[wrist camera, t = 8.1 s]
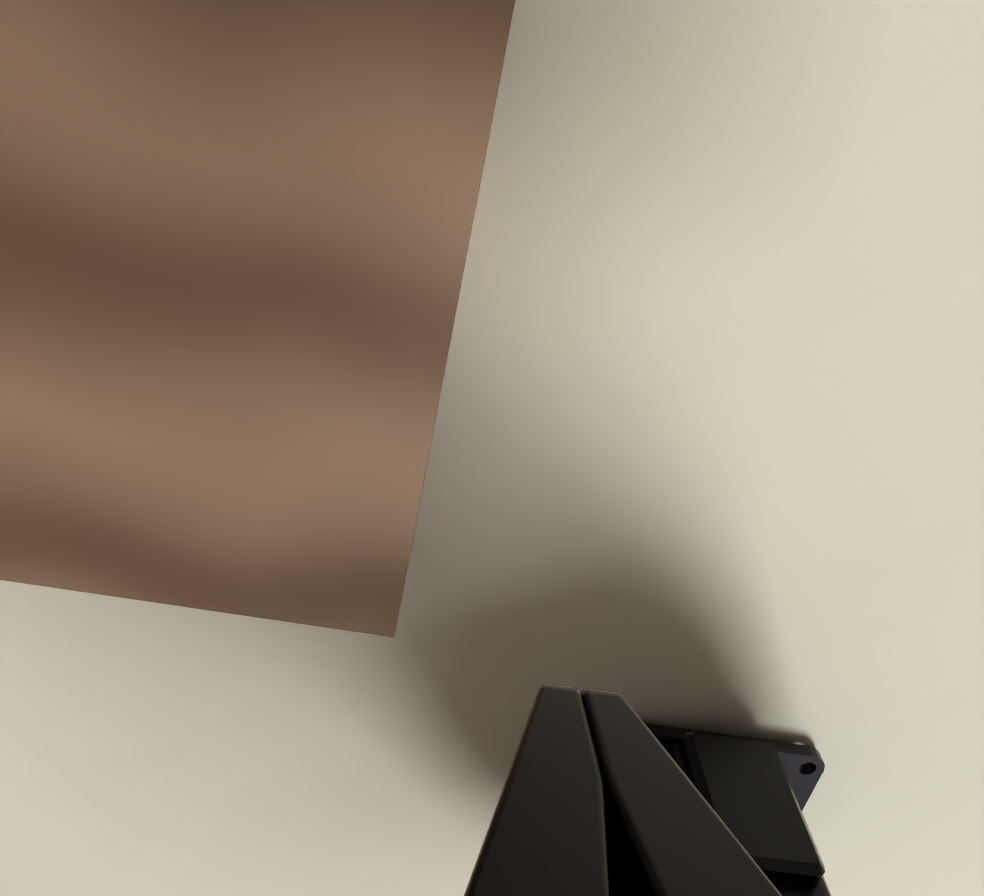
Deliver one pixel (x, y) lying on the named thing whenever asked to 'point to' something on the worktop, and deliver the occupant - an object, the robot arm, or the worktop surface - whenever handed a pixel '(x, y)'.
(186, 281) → the walnut ledge
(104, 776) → the worktop surface
